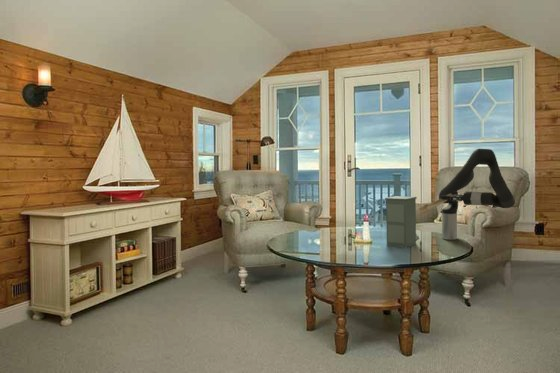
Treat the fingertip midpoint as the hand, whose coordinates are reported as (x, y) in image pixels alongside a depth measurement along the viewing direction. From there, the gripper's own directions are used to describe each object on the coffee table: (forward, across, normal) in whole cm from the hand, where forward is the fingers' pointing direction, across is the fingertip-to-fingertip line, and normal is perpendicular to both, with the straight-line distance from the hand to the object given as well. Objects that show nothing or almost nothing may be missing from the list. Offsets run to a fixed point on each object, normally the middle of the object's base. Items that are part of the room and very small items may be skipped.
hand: (442, 197), depth 242 cm
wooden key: (+3, 0, +5) cm, 6 cm away
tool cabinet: (+26, 0, +31) cm, 41 cm away
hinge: (+30, -18, +31) cm, 47 cm away
